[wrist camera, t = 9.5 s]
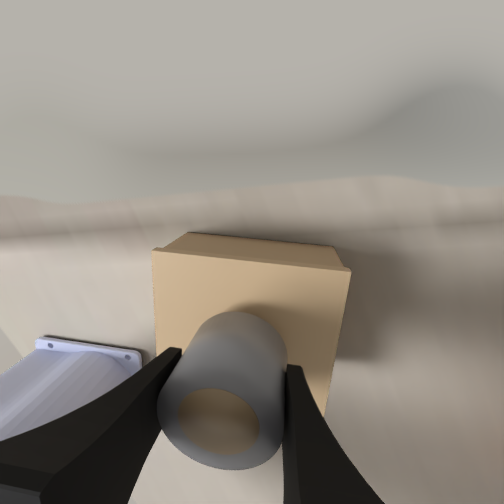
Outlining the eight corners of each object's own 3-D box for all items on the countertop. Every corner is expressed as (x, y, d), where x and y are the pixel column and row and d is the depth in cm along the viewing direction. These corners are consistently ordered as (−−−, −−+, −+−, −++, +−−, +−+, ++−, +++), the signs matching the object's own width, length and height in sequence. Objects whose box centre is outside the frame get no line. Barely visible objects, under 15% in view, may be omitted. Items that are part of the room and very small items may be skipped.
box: (188, 340, 22) (164, 382, 18) (187, 232, 19) (158, 251, 15) (314, 358, 21) (320, 407, 17) (333, 246, 18) (346, 271, 14)
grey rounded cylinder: (205, 394, 15) (174, 469, 12) (182, 315, 14) (140, 371, 10) (294, 391, 14) (292, 473, 11) (279, 307, 13) (271, 365, 9)
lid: (162, 383, 18) (158, 390, 17) (156, 247, 15) (151, 250, 14) (322, 408, 17) (323, 417, 16) (348, 267, 14) (351, 272, 13)
